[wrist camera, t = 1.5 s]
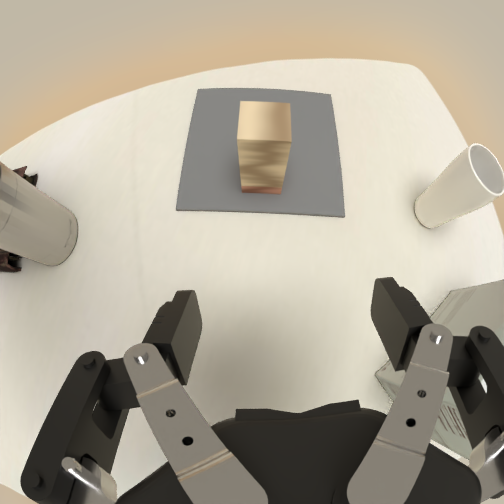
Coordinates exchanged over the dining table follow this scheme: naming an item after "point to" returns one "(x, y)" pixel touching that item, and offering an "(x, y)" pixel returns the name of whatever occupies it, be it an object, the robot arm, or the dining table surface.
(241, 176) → the oak block
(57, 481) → the robot arm
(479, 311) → the supplement box
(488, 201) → the drinking glass
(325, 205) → the rubber mat
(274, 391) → the dining table surface
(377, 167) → the dining table surface
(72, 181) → the dining table surface
